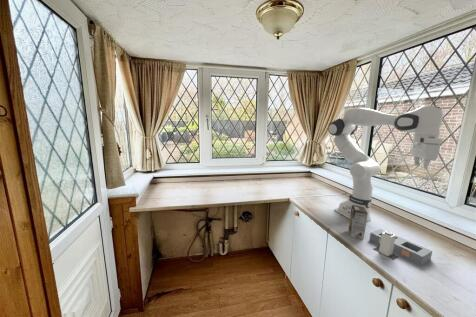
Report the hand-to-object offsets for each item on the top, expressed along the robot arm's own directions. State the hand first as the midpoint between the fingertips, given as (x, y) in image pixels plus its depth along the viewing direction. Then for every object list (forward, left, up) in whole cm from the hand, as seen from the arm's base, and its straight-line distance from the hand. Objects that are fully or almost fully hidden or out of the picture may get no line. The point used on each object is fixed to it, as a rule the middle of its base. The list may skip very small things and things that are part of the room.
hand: (420, 166), depth 100 cm
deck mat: (0, -21, -42) cm, 47 cm away
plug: (0, -21, -42) cm, 46 cm away
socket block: (+1, -11, -42) cm, 44 cm away
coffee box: (-17, -17, -42) cm, 49 cm away
